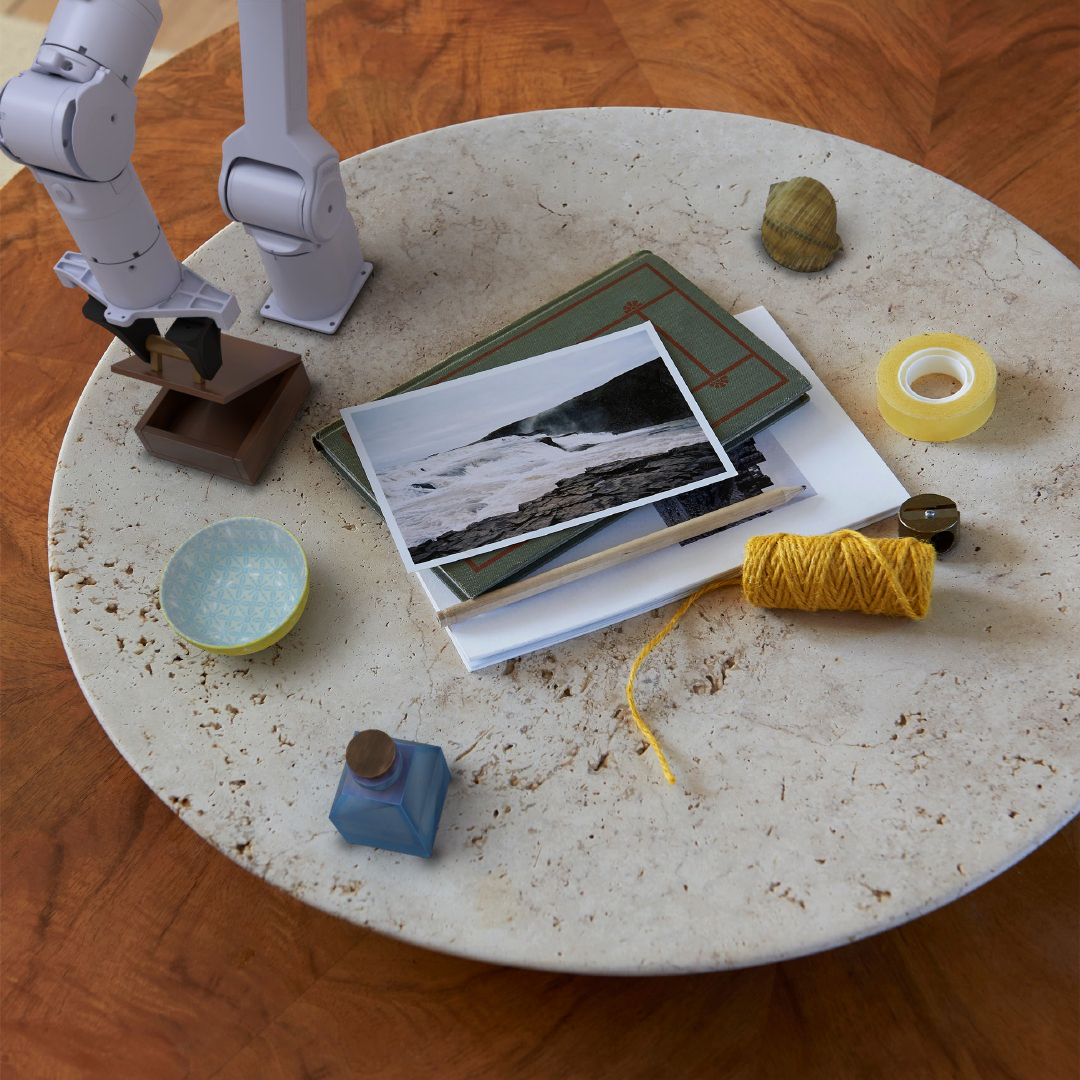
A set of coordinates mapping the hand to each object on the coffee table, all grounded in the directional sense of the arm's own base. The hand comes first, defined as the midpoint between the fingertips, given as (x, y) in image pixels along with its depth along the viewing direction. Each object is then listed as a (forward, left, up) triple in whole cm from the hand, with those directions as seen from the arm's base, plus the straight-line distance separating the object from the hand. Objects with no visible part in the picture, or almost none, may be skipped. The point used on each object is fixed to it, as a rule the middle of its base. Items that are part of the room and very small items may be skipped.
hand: (183, 362), depth 85 cm
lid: (-2, 0, -3) cm, 4 cm away
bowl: (+15, +12, -10) cm, 22 cm away
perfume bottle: (+25, +29, -10) cm, 40 cm away
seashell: (-40, +44, -10) cm, 60 cm away
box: (-2, 0, -10) cm, 10 cm away
